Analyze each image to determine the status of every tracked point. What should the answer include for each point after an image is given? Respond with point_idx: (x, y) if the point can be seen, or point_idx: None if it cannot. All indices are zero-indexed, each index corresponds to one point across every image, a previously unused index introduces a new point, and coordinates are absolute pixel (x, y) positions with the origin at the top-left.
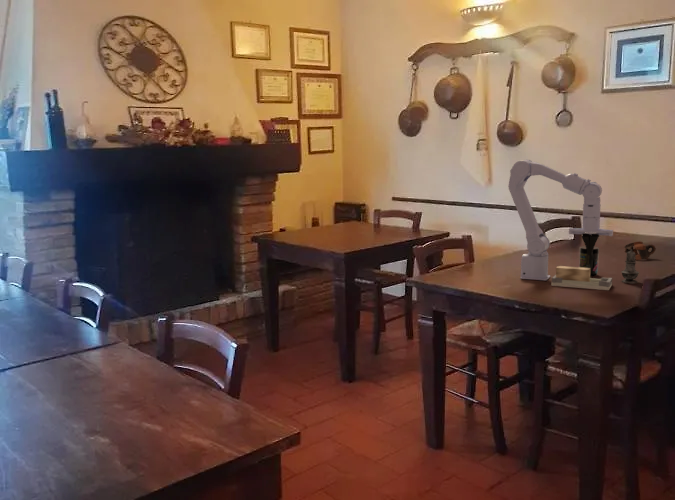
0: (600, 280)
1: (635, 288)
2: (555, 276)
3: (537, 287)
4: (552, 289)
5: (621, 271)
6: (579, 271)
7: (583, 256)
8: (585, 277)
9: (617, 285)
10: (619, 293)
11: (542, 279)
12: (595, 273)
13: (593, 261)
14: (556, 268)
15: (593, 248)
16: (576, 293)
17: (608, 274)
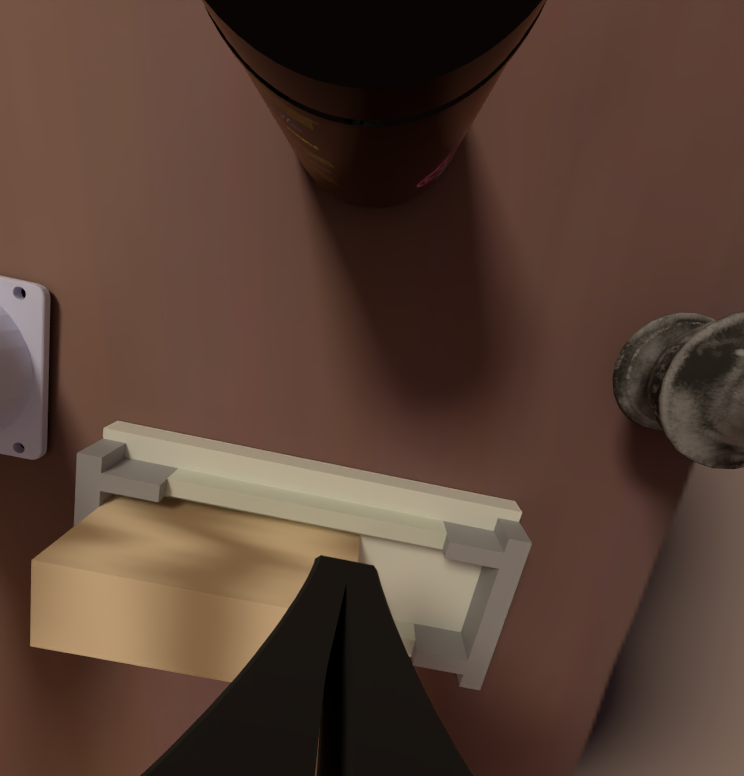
0: (436, 543)
1: (648, 576)
2: None
3: None
4: (129, 676)
5: (667, 385)
6: None
7: (278, 112)
8: None
9: (549, 509)
10: (513, 708)
11: (11, 454)
12: (437, 178)
13: (427, 157)
14: (39, 639)
15: (399, 647)
16: None
17: (571, 55)
